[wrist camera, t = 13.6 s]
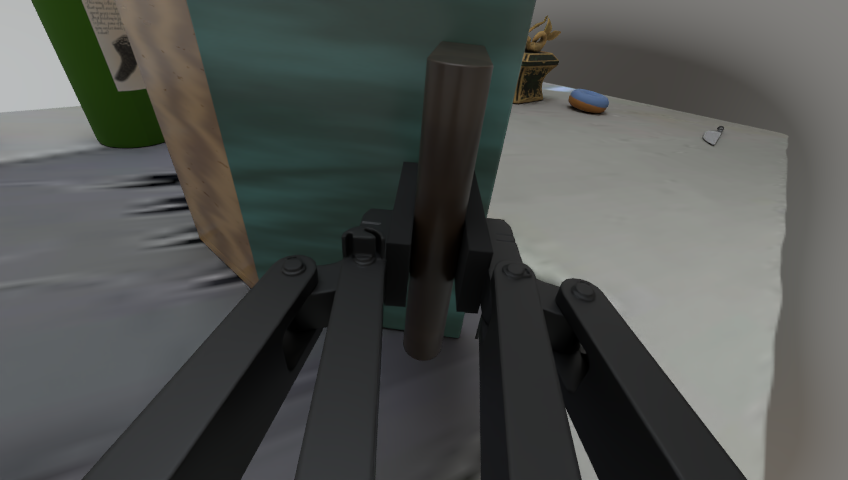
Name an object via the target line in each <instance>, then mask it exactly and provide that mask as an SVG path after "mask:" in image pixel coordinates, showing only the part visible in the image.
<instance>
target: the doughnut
mask: <svg viewBox="0 0 848 480" xmlns="http://www.w3.org/2000/svg"><path fill="white" fill-rule="evenodd" d="M569 103H570V104H571V105H572V106H573V107H575V108H578V109H580V110H583V111H586V112H590V113H601V112H604V111H605V110H606V108H607V107H608V104H609V101H608V99H607V98H606V97H605V96H603V95H601V94H599V93H596V92H592V91H589V90H584V89H576V90H574V91H573V92H572V93H571V94H570V96H569Z"/></svg>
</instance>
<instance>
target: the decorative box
mask: <svg viewBox="0 0 848 480" xmlns="http://www.w3.org/2000/svg"><path fill="white" fill-rule="evenodd" d="M547 17H548V16H546V17H545V19H544V21H543V22H540V23H538V24H536V25H534V26H533V27H531V28H530V29H529V32H531V31H532V30H533V29H534V28H536V27H538V26H539V25H541V24H543V23H545V21H546V19H547ZM551 29H552V26H551V22H550V19H549V18H548V23H547V25H546V27H545V29H544V31H540V32H539V33H537V34H536V35H535V37H534V38H533V41H532V42H530V41H531V38H530V37H529V36H528V38H527V43H526V47H525V51H524V56H523V60H522V64H521V69H520V73H519V78H518V82H517V86H516V91H515V95H514V100H513V103H515V104H520V103H526V102H533V101H539V100H543V95H542V83H543V80H544V78H545V76H546V75H547V74H548V73H549V72H550V71H551V70H552V69H553V68H555V67H556V66H557V65H558V63H559V61H558V59H557V58H556V57H555V56H554V55H553V54H552V53H548V52H542V51H541V49H542V48H543V46H544V45H545V43H546V41H547V40H553V39H554V38H556V37H557V36H558V35H559V34H560V33H561V32H560V31H553V32H552V33H550V32H551ZM540 37H541V39H540V41H539V42H537V43H536V41H537V40H538V39H539V38H540Z"/></svg>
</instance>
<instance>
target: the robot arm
mask: <svg viewBox="0 0 848 480" xmlns="http://www.w3.org/2000/svg"><path fill="white" fill-rule="evenodd" d="M417 173H418V163H414V162H404V161H403V166H402V171H401V176H400V180H399V185H398V190H397V194H396V199H395V204H394V208H393V210H385V209H375V208H371V209H369V210H368V211H367V212H366V213H365V214H364V215H363V218H362V221H361V223H360V226H357V227H353V228H350V229H348V230H347V231H345V232H344V233H343V235H342V237H341V238H342V254H343V259H342V260H341V261H338V262H336V263H332V264H326V265H318V266H317V265H316V262H315V261H314V260H313V259H312V258H311V257H308V256H305V255H291V256H286V257H284V258H282V259H279V260H278V261H277V262H275V263H274V264H273V265H272V266H271V267H270V268H269V269H268V271H267V272H266V273H265V274H264V275H263V276H262V277H261V278H260V280H259V281H258V282H257V283H256V284H255V285H254V286H253V287H252V289H251V290H250V291H249V292H248V293H247V294H246V295H245V296H244V298H243V299H242V300H241V301H240V302H239V303H238V304H237V305H236V307H235V308H234V309H233V310H232V311H231V312H230V313H229V314H228V316H227V317H226V318H225V319H224V320H223V321H222V322H221V323H220V325H219V326H218V327H217V328H216V329H215V330H214V331H213V332H212V334H211V335H210V336H209V337H208V338H207V339H206V340H205V341H204V343H203V344H202V345H201V346H200V347H199V348H198V349H197V350H196V352H195V353H194V354H193V355H192V356H191V357H190V358H189V359H188V361H187V362H186V363H185V364H184V365H183V366H182V367H181V368H180V370H179V371H178V372H177V373H176V374H175V375H174V376H173V377H172V379H171V380H170V381H169V382H168V383H167V384H166V385H165V386H164V388H163V389H162V390H161V391H160V392H159V393H158V394H157V395H156V397H155V398H154V399H153V400H152V401H151V402H150V403H149V404H148V406H147V407H146V408H145V409H144V410H143V411H142V412H141V413H140V415H139V416H138V417H137V418H136V419H135V420H134V421H133V422H132V424H131V425H130V426H129V427H128V428H127V429H126V430H125V431H124V433H123V434H122V435H121V436H120V437H119V438H118V439H117V440H116V442H115V443H114V444H113V445H112V446H111V447H110V448H109V449H108V451H107V452H106V453H105V454H104V455H103V456H102V457H101V458H100V460H99V461H98V462H97V463H96V464H95V465H94V466H93V467H92V469H91V470H90V471H89V472H88V473H87V474H86V475H85V476H84V478H83V479H82V480H241V478H242V476H243V474H244V473H245V471H246V469H247V467H248V465H249V463H250V462H251V460H252V458H253V456H254V454H255V452H256V451H257V449H258V447H259V445H260V443H261V442H262V440H263V438H264V436H265V434H266V432H267V431H268V429H269V427H270V425H271V423H272V421H273V420H274V418H275V416H276V414H277V412H278V411H279V409H280V407H281V405H282V403H283V401H284V400H285V398H286V396H287V394H288V392H289V390H290V389H291V387H292V385H293V383H294V381H295V380H296V378H297V376H298V374H299V372H300V370H301V369H302V367H303V365H304V363H305V361H306V359H307V358H308V356H309V354H310V352H311V350H312V349H313V347H314V345H315V343H316V341H317V339H318V338H319V336H320V334H321V332H322V330H323V328H324V327H328V328H327V333H326V337H325V342H324V346H323V351H322V356H321V360H320V365H319V369H318V374H317V378H316V383H315V388H314V392H313V397H312V401H311V406H310V411H309V415H308V420H307V424H306V429H305V433H304V438H303V443H302V447H301V452H300V456H299V461H298V465H297V470H296V475H295V479H294V480H375V470H376V450H377V430H378V409H379V389H380V369H381V349H382V329H383V306H384V305H385V306H397V307H406V298H407V289H408V279H409V269H410V258H411V246H412V233H413V221H414V209H415V197H416V185H417ZM454 280H455V296H456V312H466V313H478V310H479V306H480V304H481V311H482V314H481V318H480V322H479V325H478V329H477V333H476V337H475V339H478V338H479V366H480V440H481V480H582V479H581V475H580V470H579V466H578V461H577V457H576V453H575V448H574V444H573V439H572V435H571V431H570V426H569V422H568V418H567V413H566V410H567V412H568V414H569V416H570V418H571V420H572V423H573V425H574V427H575V429H576V431H577V433H578V436H579V438H580V440H581V442H582V444H583V446H584V448H585V451H586V453H587V455H588V457H589V459H590V461H591V464H592V466H593V468H594V470H595V472H596V474H597V477H598V479H599V480H747V479H746V477H745V476H744V475H743V474H742V472H741V471H740V470H739V468H738V467H737V466H736V465H735V463H734V462H733V461H732V459H731V458H730V457H729V455H728V454H727V453H726V452H725V450H724V449H723V448H722V446H721V445H720V444H719V443H718V441H717V440H716V439H715V437H714V436H713V435H712V433H711V432H710V431H709V430H708V428H707V427H706V426H705V424H704V423H703V422H702V420H701V419H700V418H699V417H698V415H697V414H696V413H695V411H694V410H693V409H692V408H691V406H690V405H689V404H688V402H687V401H686V400H685V398H684V397H683V396H682V395H681V393H680V392H679V391H678V389H677V388H676V387H675V386H674V384H673V383H672V382H671V380H670V379H669V378H668V376H667V375H666V374H665V373H664V371H663V370H662V369H661V367H660V366H659V365H658V363H657V362H656V361H655V360H654V358H653V357H652V356H651V354H650V353H649V352H648V351H647V349H646V348H645V347H644V345H643V344H642V343H641V341H640V340H639V339H638V338H637V336H636V335H635V334H634V332H633V331H632V330H631V329H630V327H629V326H628V325H627V323H626V322H625V321H624V319H623V318H622V317H621V316H620V314H619V313H618V312H617V310H616V309H615V308H614V306H613V305H612V304H611V303H610V301H609V300H608V299H607V297H606V296H605V295H604V294H603V292H602V291H601V290H600V289H599V288H598V287H596V286H595V285H593V284H591V283H590V282H587V281H584V280H581V279H574V278H572V279H566V280H565V281H563V282H562V284H561V286H560V287H558V286H555V285H552V284H548V283H545V282H543V281H540V280H538V279H536V277H535V274H534V272H533V270H532V269H531V268H530V267H528V266H527V265H526V264H524V263H522V260H521V257H520V254H519V251H518V248H517V245H516V243H515V239H514V236H513V233H512V230H511V227H510V226H509V225H508V224H507V223H506V222H505V221H504V220H501V219H490V218H486V217H485V213H484V209H483V204H482V200H481V195H480V191H479V187H478V182H477V178H476V174H475V169H474V174H473V179H472V185H471V190H470V196H469V201H468V206H467V212H466V217H465V223H464V228H463V233H462V239H461V244H460V249H459V255H458V260H457V266H456V271H455V276H454ZM565 407H566V409H565Z"/></svg>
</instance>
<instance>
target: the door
mask: <svg viewBox="0 0 848 480" xmlns="http://www.w3.org/2000/svg"><path fill="white" fill-rule="evenodd" d="M186 2H187V6H188V9H189V13H190V17H191V21H192V25H193V29H194V33H195V36H196V40H197V44H198V48H199V52H200V56H201V60H202V63H203V67H204V71H205V75H206V79H207V83H208V87H209V90H210V94H211V98H212V102H213V106H214V110H215V113H216V117H217V121H218V125H219V129H220V133H221V137H222V140H223V144H224V148H225V152H226V156H227V160H228V164H229V167H230V171H231V175H232V179H233V183H234V187H235V191H236V194H237V198H238V202H239V206H240V210H241V214H242V218H243V221H244V225H245V229H246V233H247V237H248V241H249V244H250V248H251V252H252V256H253V260H254V264H255V268H256V271H257V275H258V279H259V280H260V278H261V277H262V276H263V275H264V274H265V273H266V272H267V271H268V269H269V268H270V267H271V266H272V265H273V264H274V263H275V262H277V261H278V260H279V259H282V258H284V257H286V256H291V255H305V256H308V257H311V258H312V259H313V260H314V261H315V262H316V265H317V266H318V265H326V264H332V263H336V262H338V261H341V260H342V259H343V254H342V238H341V237H342V235H343V233H344V232H345V231H347V230H348V229H350V228H353V227H357V226H360V223H361V221H362V218H363V215H364V214H365V213H366V212H367V211H368V210H369V209H371V208H375V209H385V210H393V208H394V204H395V199H396V194H397V190H398V185H399V180H400V176H401V171H402V166H403V161H404V162H414V163H418V173H417V185H416V197H415V209H414V221H413V233H412V246H411V258H410V269H409V279H408V289H407V298H406V307H397V306H385V305H384V306H383V327H385V328H392V329H399V330H404V342H403V345H404V349H405V351H406V352H407V354H408V355H409V356H411V357H412V358H414V359H417V360H421V361H426V360H430V359H433V358H435V357H436V356H437V355H438V354H439V352H440V350H441V346H442V341H443V336H447V337H454V338H459V336H460V332H461V328H462V323H463V319H464V314H465V312H456V296H455V280H454V276H455V271H456V266H457V260H458V255H459V249H460V244H461V239H462V233H463V228H464V223H465V217H466V212H467V206H468V201H469V196H470V190H471V185H472V179H473V174H474V169H475V174H476V178H477V182H478V187H479V191H480V195H481V200H482V204H483V209H484V213H485V217H486V218H487V214H488V209H489V205H490V200H491V196H492V192H493V187H494V183H495V179H496V174H497V170H498V165H499V161H500V157H501V152H502V148H503V143H504V139H505V135H506V130H507V126H508V121H509V117H510V113H511V108H512V104H513V100H514V95H515V91H516V86H517V82H518V78H519V73H520V69H521V64H522V60H523V56H524V51H525V47H526V43H527V38H528V34H529V29H530V25H531V20H532V16H533V11H534V7H535V3H536V0H186Z"/></svg>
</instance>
